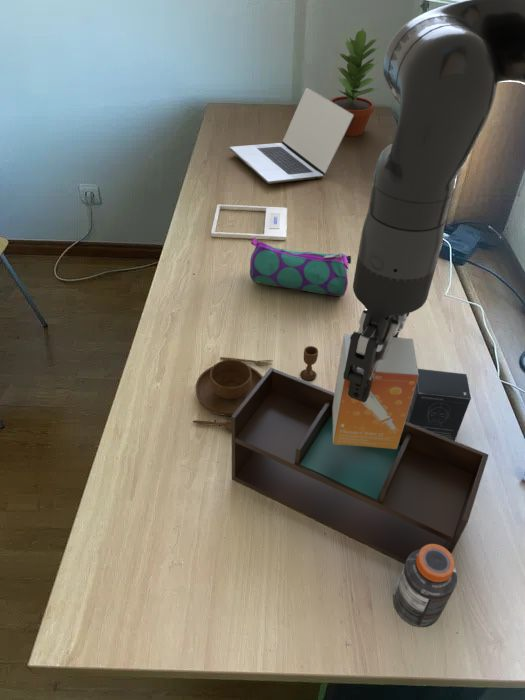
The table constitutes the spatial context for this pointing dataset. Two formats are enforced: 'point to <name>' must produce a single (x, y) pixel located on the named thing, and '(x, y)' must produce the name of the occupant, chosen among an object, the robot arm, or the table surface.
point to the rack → (353, 470)
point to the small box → (376, 399)
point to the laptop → (301, 142)
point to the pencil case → (299, 269)
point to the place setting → (237, 383)
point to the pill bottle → (425, 585)
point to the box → (439, 402)
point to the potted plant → (356, 84)
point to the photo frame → (273, 223)
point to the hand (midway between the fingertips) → (371, 374)
